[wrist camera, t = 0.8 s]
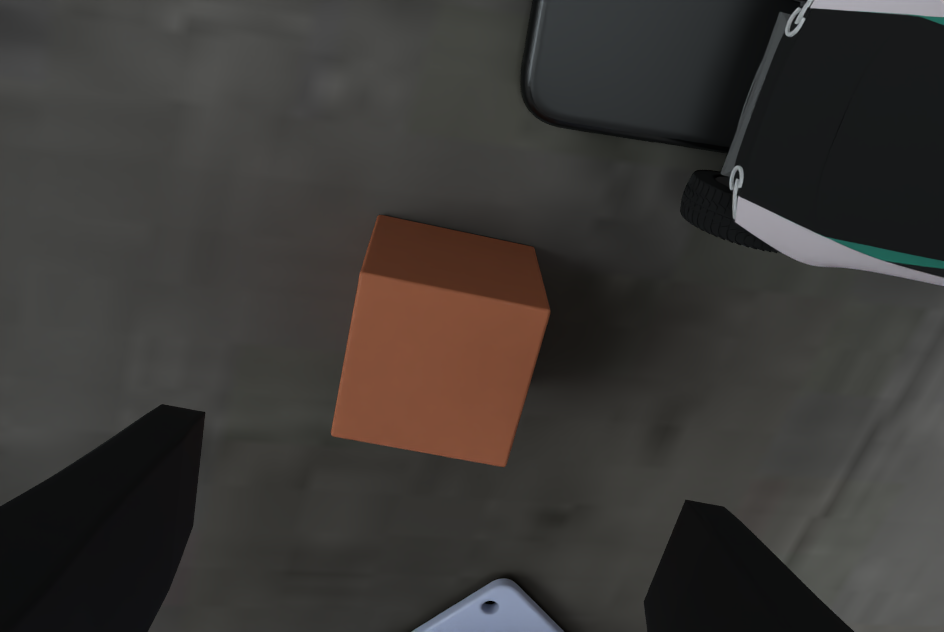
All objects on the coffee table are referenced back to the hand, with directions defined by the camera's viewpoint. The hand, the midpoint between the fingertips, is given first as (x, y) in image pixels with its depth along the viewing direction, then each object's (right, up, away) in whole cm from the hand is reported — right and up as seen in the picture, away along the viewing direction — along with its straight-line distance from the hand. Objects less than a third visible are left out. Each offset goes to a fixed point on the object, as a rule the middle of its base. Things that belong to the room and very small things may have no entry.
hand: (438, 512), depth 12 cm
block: (0, +3, +9) cm, 10 cm away
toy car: (+12, +7, +7) cm, 15 cm away
